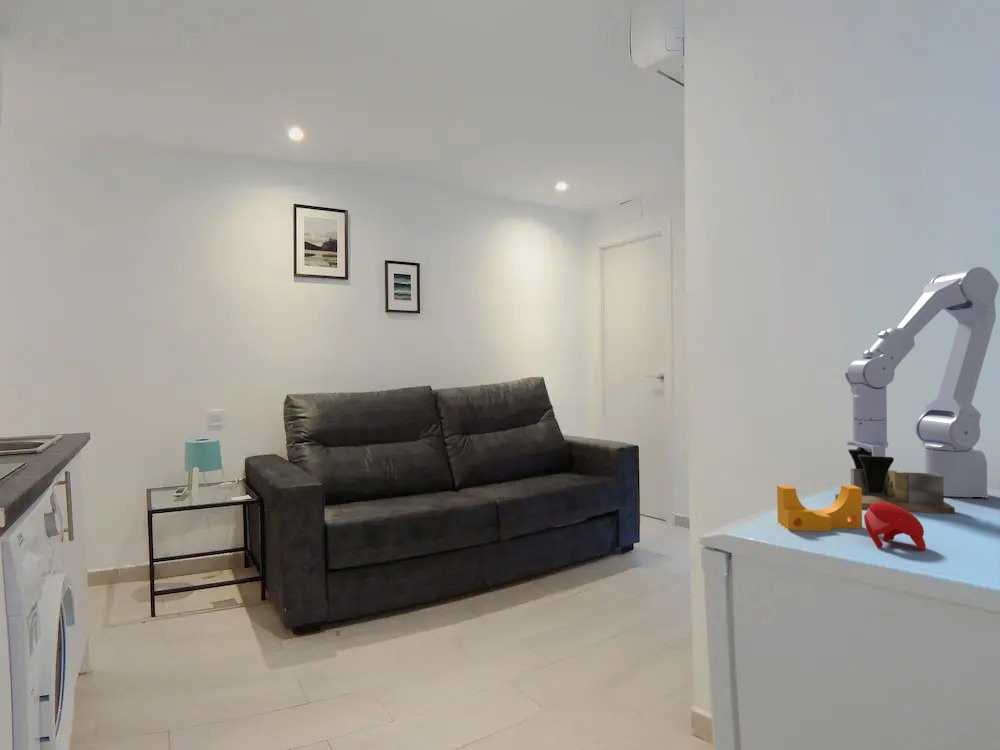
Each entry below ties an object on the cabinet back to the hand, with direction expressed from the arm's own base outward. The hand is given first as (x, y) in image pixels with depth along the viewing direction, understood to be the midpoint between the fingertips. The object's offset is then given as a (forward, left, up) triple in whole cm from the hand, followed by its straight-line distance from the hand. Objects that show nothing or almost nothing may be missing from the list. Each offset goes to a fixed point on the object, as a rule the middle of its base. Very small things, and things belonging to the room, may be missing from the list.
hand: (870, 488), depth 118 cm
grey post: (-1, 0, -1) cm, 2 cm away
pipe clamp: (+13, +28, -2) cm, 31 cm away
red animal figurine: (+4, +36, -2) cm, 36 cm away
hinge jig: (-2, +9, -1) cm, 9 cm away
